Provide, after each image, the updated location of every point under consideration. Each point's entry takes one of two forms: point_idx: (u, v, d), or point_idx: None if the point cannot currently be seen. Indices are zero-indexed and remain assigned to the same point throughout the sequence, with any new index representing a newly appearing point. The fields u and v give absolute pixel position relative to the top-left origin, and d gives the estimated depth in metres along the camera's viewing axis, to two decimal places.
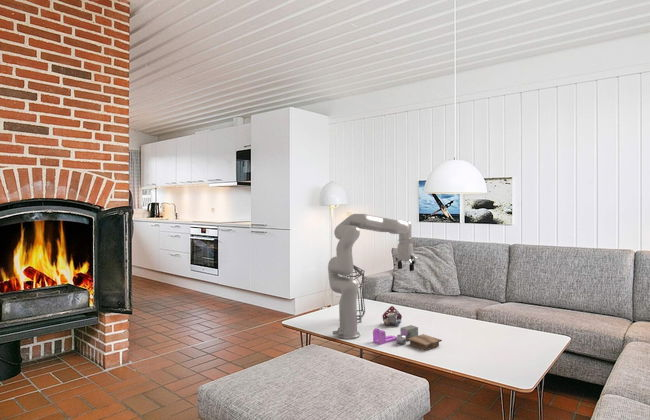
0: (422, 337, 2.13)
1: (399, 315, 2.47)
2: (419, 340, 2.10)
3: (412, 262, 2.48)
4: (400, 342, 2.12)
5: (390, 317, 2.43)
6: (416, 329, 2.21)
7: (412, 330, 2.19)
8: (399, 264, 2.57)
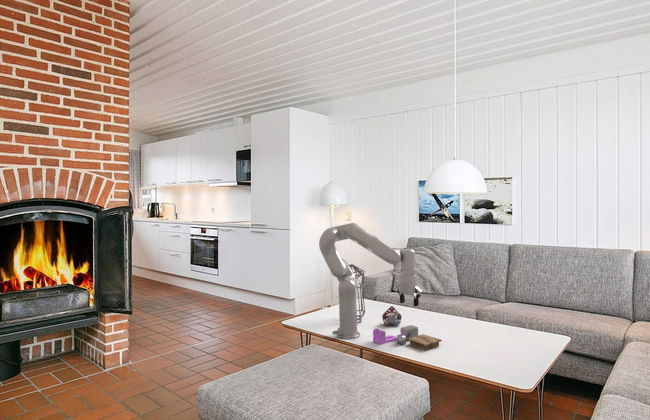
0: (422, 337, 2.13)
1: (399, 315, 2.47)
2: (419, 340, 2.10)
3: (417, 296, 2.18)
4: (400, 342, 2.12)
5: (390, 317, 2.43)
6: (416, 329, 2.21)
7: (412, 330, 2.19)
8: (401, 297, 2.27)
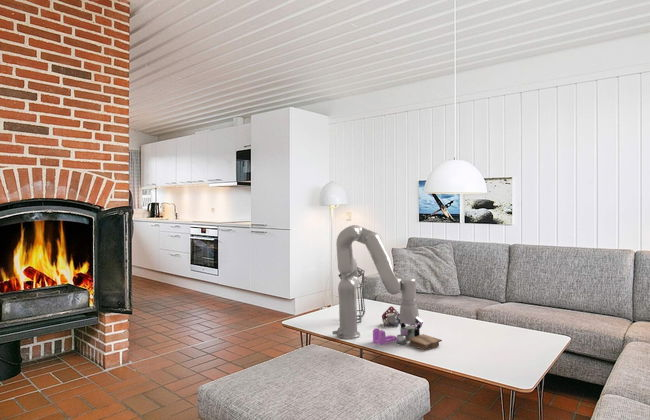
0: (422, 337, 2.13)
1: None
2: (419, 340, 2.10)
3: (417, 327, 2.16)
4: (400, 342, 2.12)
5: (389, 317, 2.43)
6: None
7: (412, 330, 2.19)
8: None
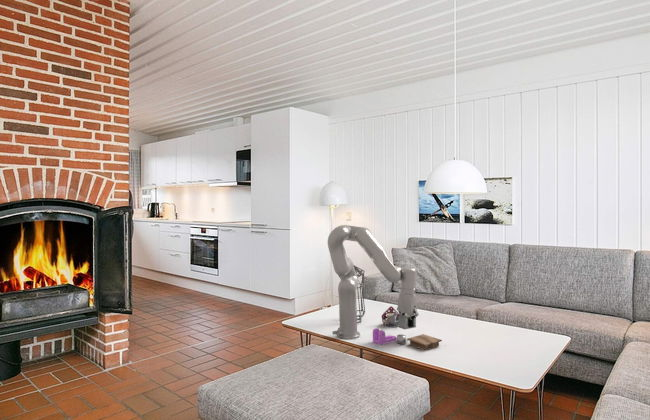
0: (422, 337, 2.13)
1: None
2: (419, 340, 2.10)
3: (412, 318, 2.17)
4: (400, 342, 2.12)
5: (389, 317, 2.43)
6: None
7: None
8: None
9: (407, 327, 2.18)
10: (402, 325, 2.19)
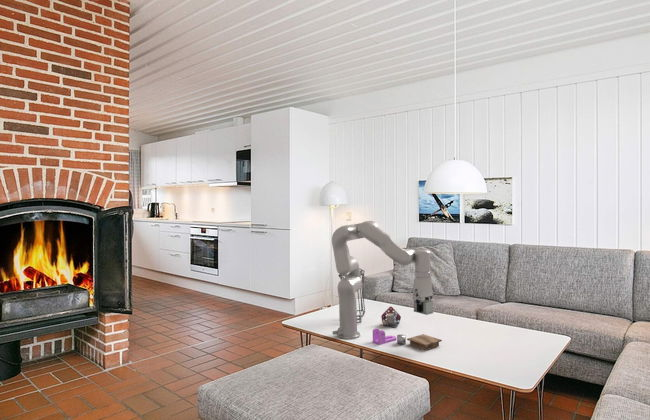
0: (422, 337, 2.13)
1: (398, 316, 2.45)
2: (419, 340, 2.10)
3: (416, 302, 2.09)
4: (400, 342, 2.12)
5: (388, 318, 2.42)
6: (424, 304, 2.07)
7: None
8: None
9: (416, 310, 2.11)
10: None
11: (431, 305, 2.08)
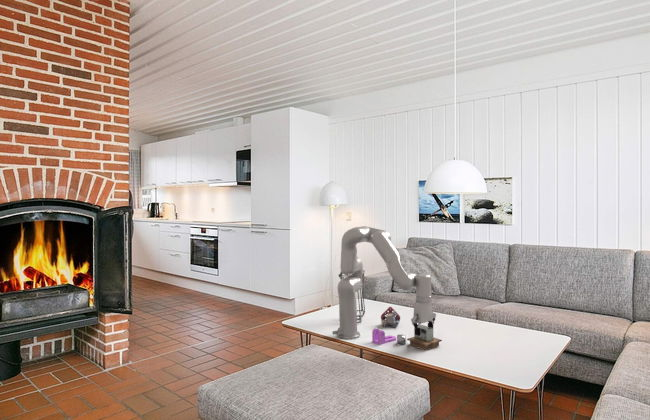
0: None
1: (397, 316, 2.45)
2: (419, 340, 2.10)
3: (414, 324, 2.07)
4: (400, 342, 2.12)
5: (388, 318, 2.42)
6: (424, 331, 2.07)
7: None
8: (428, 325, 2.14)
9: (417, 337, 2.11)
10: None
11: (431, 332, 2.08)
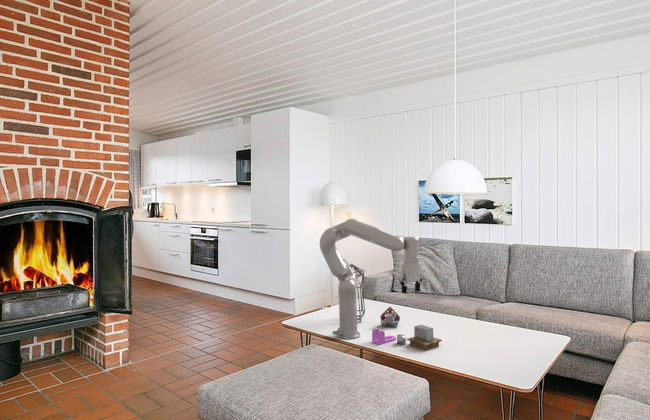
0: None
1: (397, 316, 2.44)
2: (419, 340, 2.10)
3: None
4: (400, 342, 2.12)
5: (387, 318, 2.41)
6: (424, 331, 2.07)
7: (419, 330, 2.09)
8: (416, 285, 2.26)
9: (417, 337, 2.11)
10: None
11: (431, 332, 2.08)
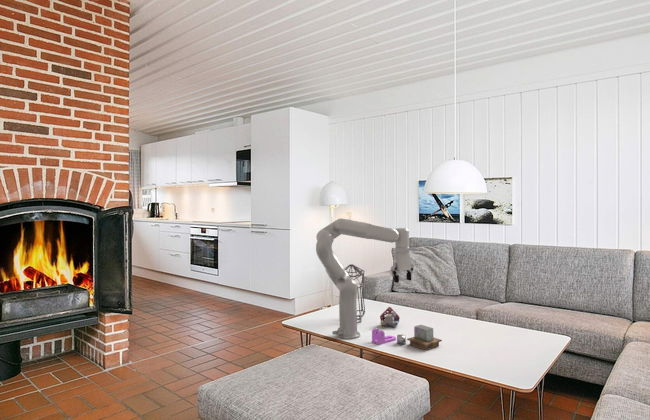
0: None
1: (397, 316, 2.44)
2: (419, 340, 2.10)
3: (393, 272, 2.30)
4: (400, 342, 2.12)
5: (387, 318, 2.41)
6: (424, 331, 2.07)
7: (419, 330, 2.09)
8: (407, 274, 2.36)
9: (417, 337, 2.11)
10: None
11: (431, 332, 2.08)
